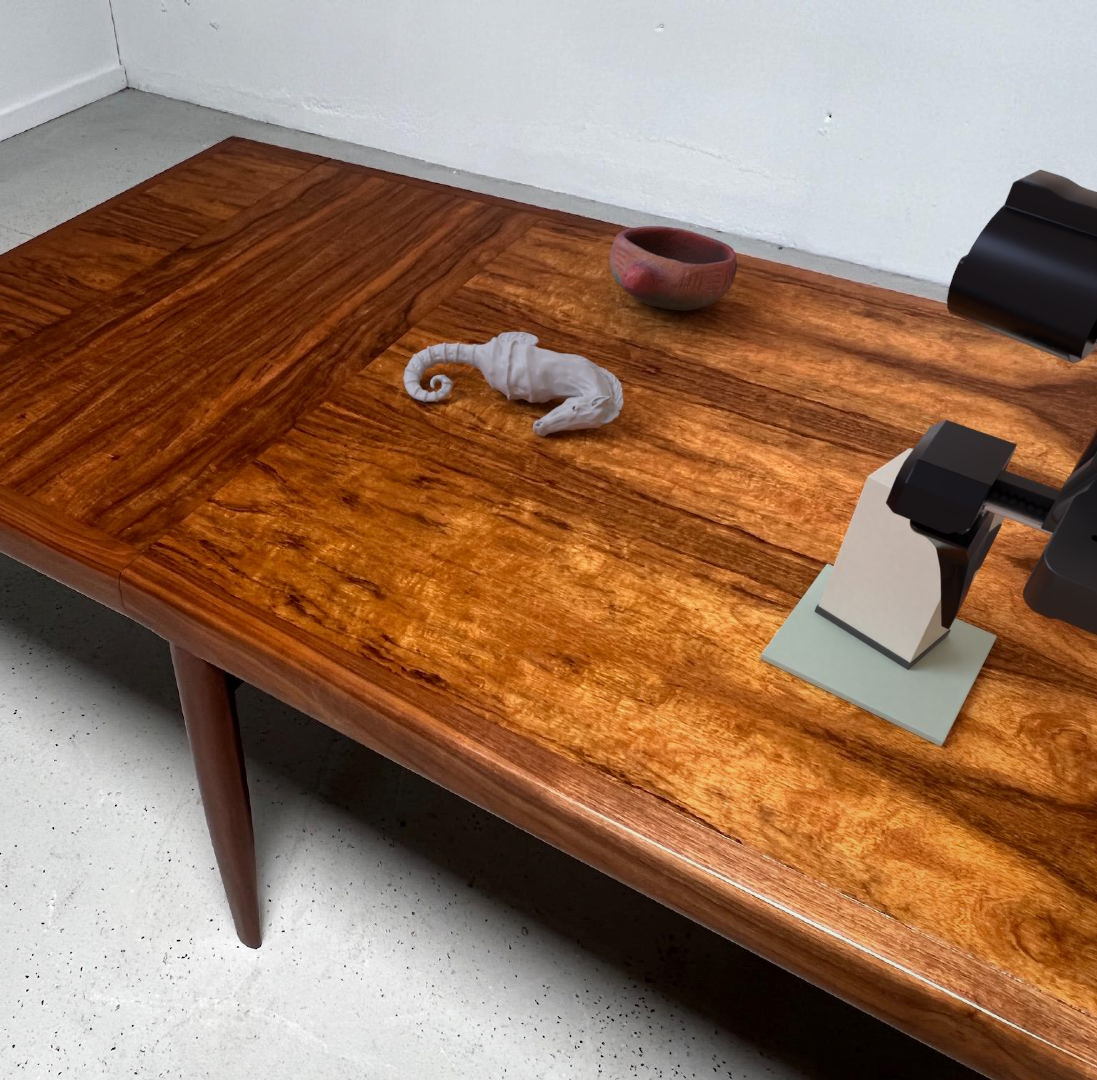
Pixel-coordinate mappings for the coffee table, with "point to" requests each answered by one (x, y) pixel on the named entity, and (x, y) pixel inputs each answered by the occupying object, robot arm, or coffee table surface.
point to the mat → (881, 668)
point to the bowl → (672, 267)
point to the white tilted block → (889, 577)
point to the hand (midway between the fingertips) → (1040, 664)
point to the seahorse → (527, 379)
